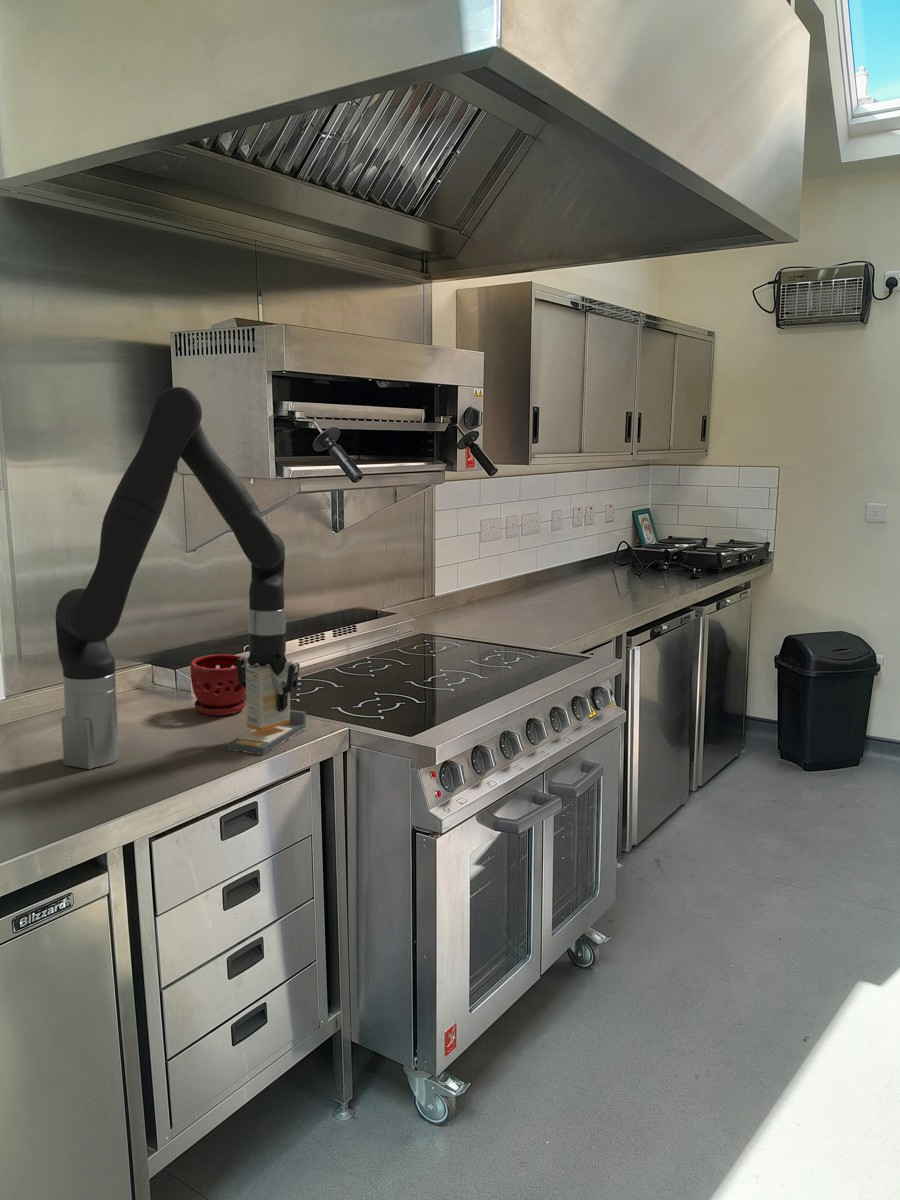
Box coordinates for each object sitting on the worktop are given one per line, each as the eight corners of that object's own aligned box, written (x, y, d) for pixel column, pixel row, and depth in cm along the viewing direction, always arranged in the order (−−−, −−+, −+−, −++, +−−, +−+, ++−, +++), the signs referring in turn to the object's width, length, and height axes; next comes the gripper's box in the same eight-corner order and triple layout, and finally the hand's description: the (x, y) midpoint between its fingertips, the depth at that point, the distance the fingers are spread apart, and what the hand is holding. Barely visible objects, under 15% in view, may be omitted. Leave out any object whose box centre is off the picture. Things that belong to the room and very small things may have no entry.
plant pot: (179, 712, 206) (178, 661, 204) (223, 699, 217) (222, 651, 215) (218, 722, 199) (217, 670, 197) (261, 709, 209) (261, 659, 207)
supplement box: (275, 718, 193) (275, 659, 190) (290, 723, 190) (290, 663, 187) (245, 727, 186) (244, 665, 184) (260, 732, 183) (259, 670, 181)
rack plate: (263, 755, 179) (263, 735, 178) (228, 750, 181) (227, 731, 180) (305, 729, 195) (305, 711, 195) (273, 725, 198) (273, 707, 197)
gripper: (226, 630, 183) (227, 709, 186) (289, 636, 179) (289, 718, 181) (246, 623, 190) (247, 700, 193) (307, 629, 186) (307, 708, 188)
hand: (267, 708), depth 187 cm, fingers closed on supplement box, 6 cm apart
